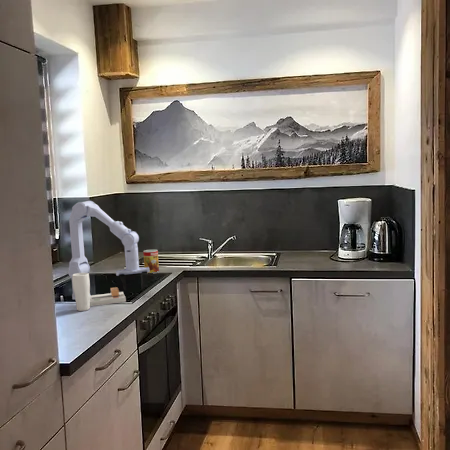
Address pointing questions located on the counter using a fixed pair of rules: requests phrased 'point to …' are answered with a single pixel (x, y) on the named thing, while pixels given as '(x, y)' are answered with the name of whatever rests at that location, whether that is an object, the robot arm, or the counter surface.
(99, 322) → the counter surface
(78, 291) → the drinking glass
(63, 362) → the counter surface
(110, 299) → the panel
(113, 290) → the breaker toggle
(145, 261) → the canned food
